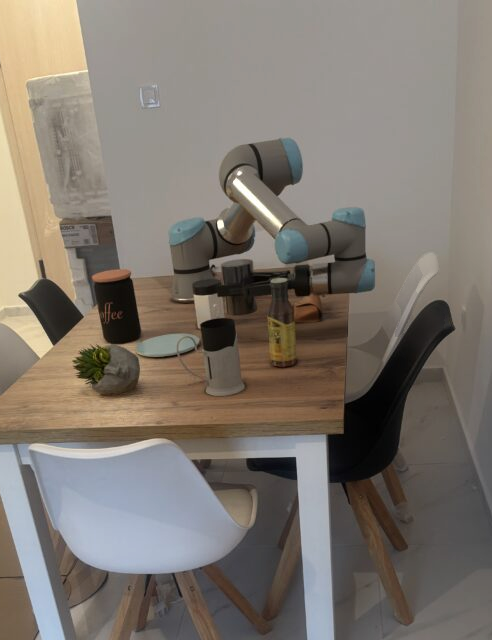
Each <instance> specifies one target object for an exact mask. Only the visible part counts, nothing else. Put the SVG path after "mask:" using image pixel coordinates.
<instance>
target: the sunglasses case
mask: <svg viewBox="0 0 492 640" xmlns="http://www.w3.org/2000/svg"><path fill="white" fill-rule="evenodd" d="M292 306H293V309H294V320H295V323H301V324H302V323H303V324H306V323H319V322H320V321H321V320H322V319H323V308H322V301H321V297H320V295H313V293H311V295H310V296H303V298H302V299H300V300H298V301H296V302H295V303H293V304H292Z"/></svg>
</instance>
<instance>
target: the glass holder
mask: <svg viewBox="0 0 492 640" xmlns="http://www.w3.org/2000/svg"><path fill="white" fill-rule="evenodd" d="M200 328H201V329H200V335H201V342H202V350H198V346H197V345H196V342H195V340H194V339H193V338H192V337H190V336H183V337H181V338H180V339H179V340H178V341H177V344H176V350H177V354H176V355H177V358H178V360H179V362H180V363H181V365H182V367H183V368H184V369H185V370H186V371H187V372H189V373H190V374H191V375H194V376H196V377H198V378H199V379H201V380H203V381H204V382H205V386H206V389H205V393H206V394H208V395H210V396H214V397H226V396H227V397H228V396H231V395H235V394H238V393H240V392H242V391H243V390H245V388H246V387H245V384H244V382H243V378H242V368H241V360H240V350H239V342H238V333H237V329H236V322H235V319H234V318H230V317H225V318H216V319H211V320H207V321H205V322H203V323H201V324H200ZM183 338H190V339H192V341H193V342H194V346H195V348H194V351H195V352H196V353H197V354H202V356H203V364H204V372H205V378H204V377H203V376H201V375H199V374H197V373H195V372H194V371H192V370H191V369H189V368H188V367H187V366H186V365H185V363H184V361H183V360H182V357H181V353H180V354H179V350H178V345H179V342H180V341H181V340H182V339H183Z"/></svg>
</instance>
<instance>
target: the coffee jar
mask: <svg viewBox="0 0 492 640" xmlns="http://www.w3.org/2000/svg"><path fill="white" fill-rule="evenodd" d="M131 276H132V270H130V269H127V268H126V269H125V268H116V269H109V270H104V271H101V272H97V273H95V274H93V275H92V276H91V279H92V281H93V282H94V285H93V291H94V296H95V301H96V306H97V311H98V315H99V316H98V317H99V320H100V321H99V322H100V326H101V332H102V336H103V339H104V341H106V342H107V344H110V345H121V344H127V343H131V342H134V341H136V340H138V339H139V338H140V336H141V335H142V327H141V322H140V317H139V310H138V304H137V299H136V293H135V286H134V282H133V279H132V278H131Z"/></svg>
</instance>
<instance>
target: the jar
mask: <svg viewBox="0 0 492 640" xmlns="http://www.w3.org/2000/svg"><path fill="white" fill-rule="evenodd" d="M217 285H222V281H221V280H220V279H218V278H214V279H205V280H200V281H196V282H194V283H193V284H192V290H193V294H194V309H195V316H196V324H197V329H198V330H201V328H200V324H201V323H203V322H205V321H207V320H211V319H216V318H226V317H225V306H224V299H223V298H224V297H218V296H217V288H216V286H217Z"/></svg>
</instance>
